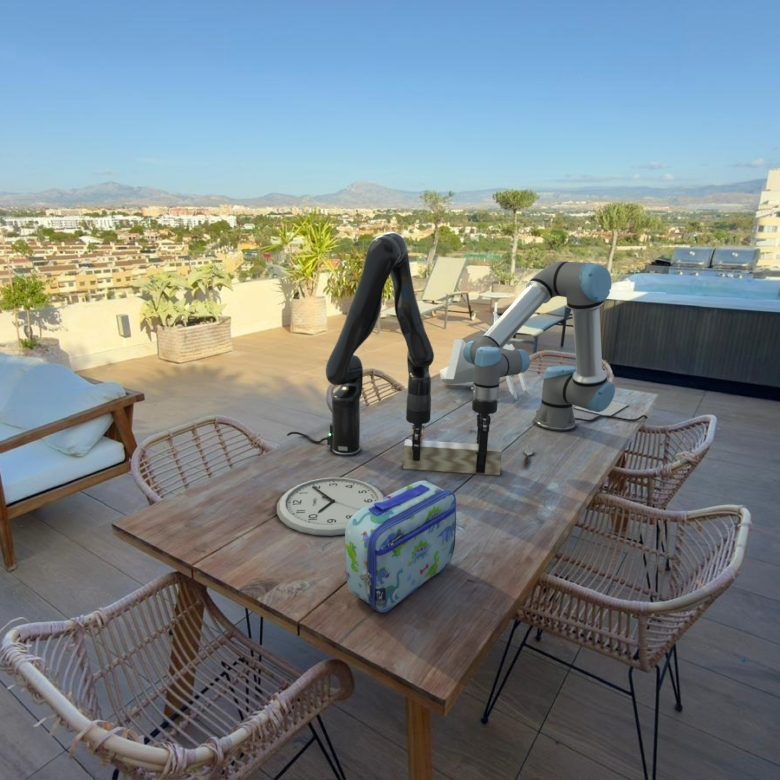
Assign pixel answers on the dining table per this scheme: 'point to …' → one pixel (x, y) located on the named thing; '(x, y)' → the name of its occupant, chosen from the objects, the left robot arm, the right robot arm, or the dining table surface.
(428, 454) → the plank
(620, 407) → the invitation card
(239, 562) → the dining table surface
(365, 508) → the lunch box
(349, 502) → the wall clock
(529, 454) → the fork
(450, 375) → the white plastic object
